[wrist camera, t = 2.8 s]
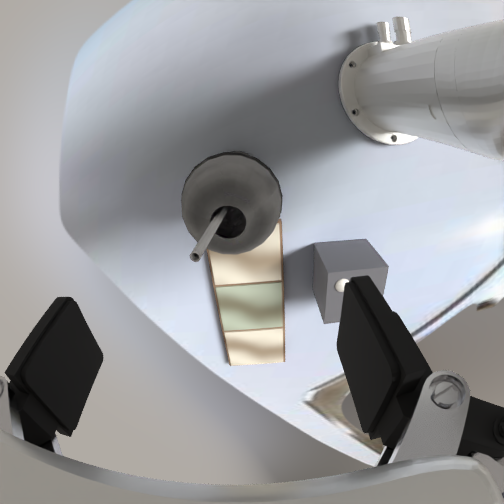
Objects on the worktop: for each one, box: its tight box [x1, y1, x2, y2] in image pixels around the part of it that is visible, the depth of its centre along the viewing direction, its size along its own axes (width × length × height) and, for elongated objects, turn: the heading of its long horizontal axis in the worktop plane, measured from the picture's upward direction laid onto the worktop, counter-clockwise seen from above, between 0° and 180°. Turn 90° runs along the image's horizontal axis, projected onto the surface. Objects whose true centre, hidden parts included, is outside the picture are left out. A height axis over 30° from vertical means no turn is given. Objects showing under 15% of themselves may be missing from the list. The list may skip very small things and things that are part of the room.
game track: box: [207, 219, 285, 366], centre depth 38 cm, size 24×9×1 cm, turn 5°
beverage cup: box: [181, 151, 282, 262], centre depth 21 cm, size 7×7×20 cm
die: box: [313, 239, 389, 324], centre depth 33 cm, size 7×7×7 cm
